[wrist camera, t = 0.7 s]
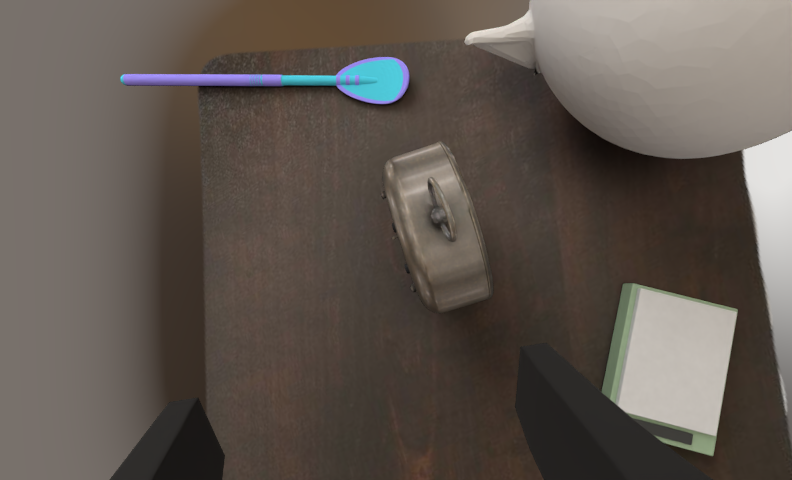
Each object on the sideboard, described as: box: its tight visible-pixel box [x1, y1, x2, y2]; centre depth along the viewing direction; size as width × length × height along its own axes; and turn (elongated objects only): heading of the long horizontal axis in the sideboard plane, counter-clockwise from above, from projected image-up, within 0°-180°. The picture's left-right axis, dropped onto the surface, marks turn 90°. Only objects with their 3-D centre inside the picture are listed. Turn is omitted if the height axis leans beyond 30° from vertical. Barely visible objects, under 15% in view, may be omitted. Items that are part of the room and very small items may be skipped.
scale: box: [602, 283, 738, 456], centre depth 33 cm, size 11×8×2 cm
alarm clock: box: [381, 141, 493, 313], centre depth 28 cm, size 11×5×16 cm, turn 17°
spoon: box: [120, 57, 409, 104], centre depth 37 cm, size 25×4×1 cm, turn 89°
